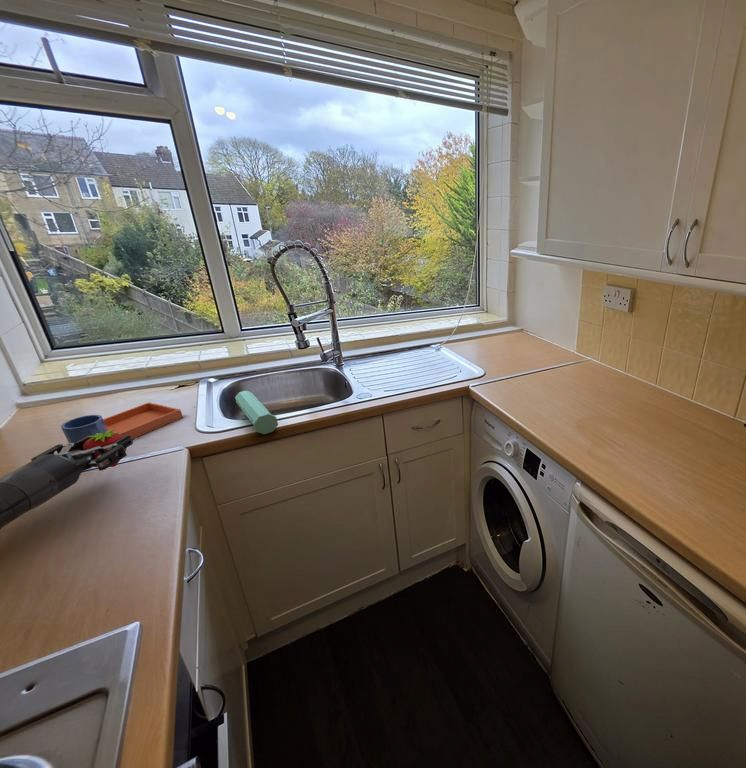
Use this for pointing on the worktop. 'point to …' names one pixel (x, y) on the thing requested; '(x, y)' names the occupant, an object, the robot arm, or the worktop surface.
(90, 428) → the blue cup
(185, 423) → the worktop surface
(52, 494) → the robot arm
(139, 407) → the terracotta tray
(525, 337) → the worktop surface
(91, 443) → the strawberry
